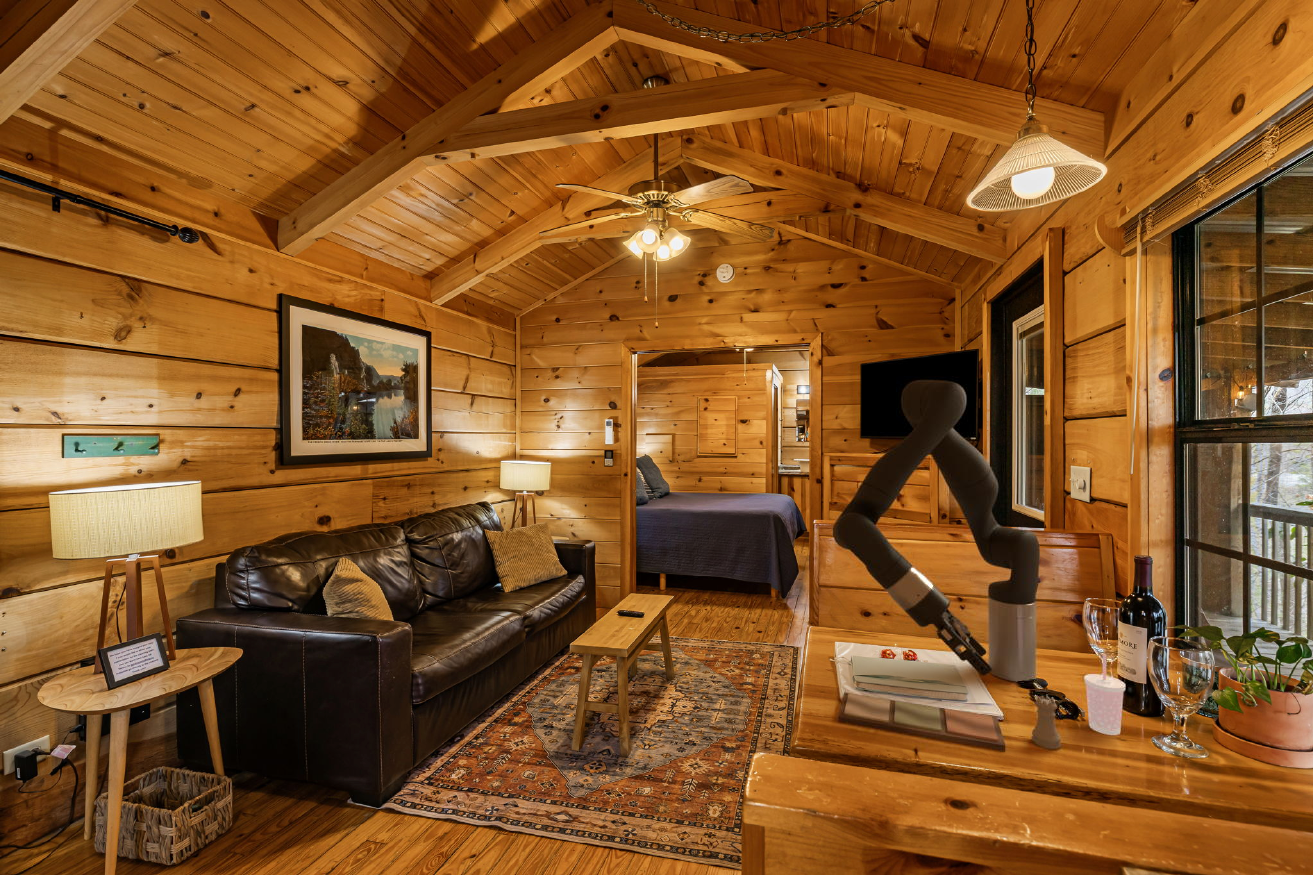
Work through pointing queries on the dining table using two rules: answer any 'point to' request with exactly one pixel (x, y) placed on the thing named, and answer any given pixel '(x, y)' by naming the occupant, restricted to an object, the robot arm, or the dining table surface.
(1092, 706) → the beverage cup
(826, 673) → the dining table surface
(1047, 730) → the rook chess piece
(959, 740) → the tile board
